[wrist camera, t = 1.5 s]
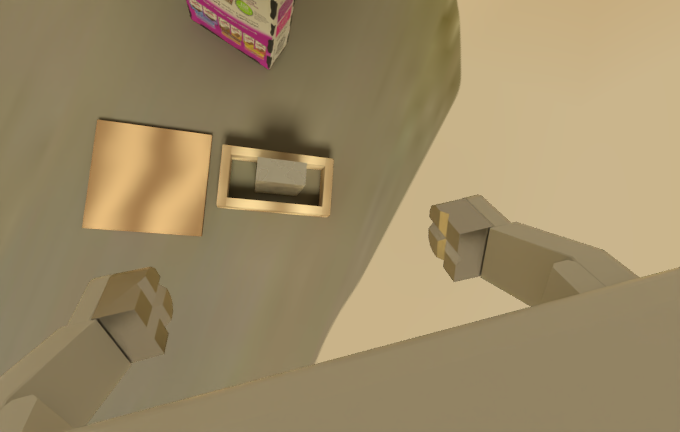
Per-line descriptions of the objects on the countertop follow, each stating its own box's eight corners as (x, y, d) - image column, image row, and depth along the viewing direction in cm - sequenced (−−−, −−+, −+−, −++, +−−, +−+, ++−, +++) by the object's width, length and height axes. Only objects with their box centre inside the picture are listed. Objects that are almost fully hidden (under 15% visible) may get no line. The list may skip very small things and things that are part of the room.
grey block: (254, 192, 43) (255, 180, 35) (256, 172, 43) (257, 156, 35) (295, 196, 44) (305, 185, 36) (297, 177, 44) (306, 162, 37)
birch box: (218, 207, 42) (216, 205, 39) (224, 150, 42) (222, 144, 40) (325, 217, 45) (329, 215, 42) (329, 163, 46) (333, 158, 43)
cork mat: (84, 228, 38) (82, 227, 38) (99, 121, 39) (97, 119, 39) (201, 236, 41) (201, 236, 40) (212, 136, 42) (211, 135, 42)
